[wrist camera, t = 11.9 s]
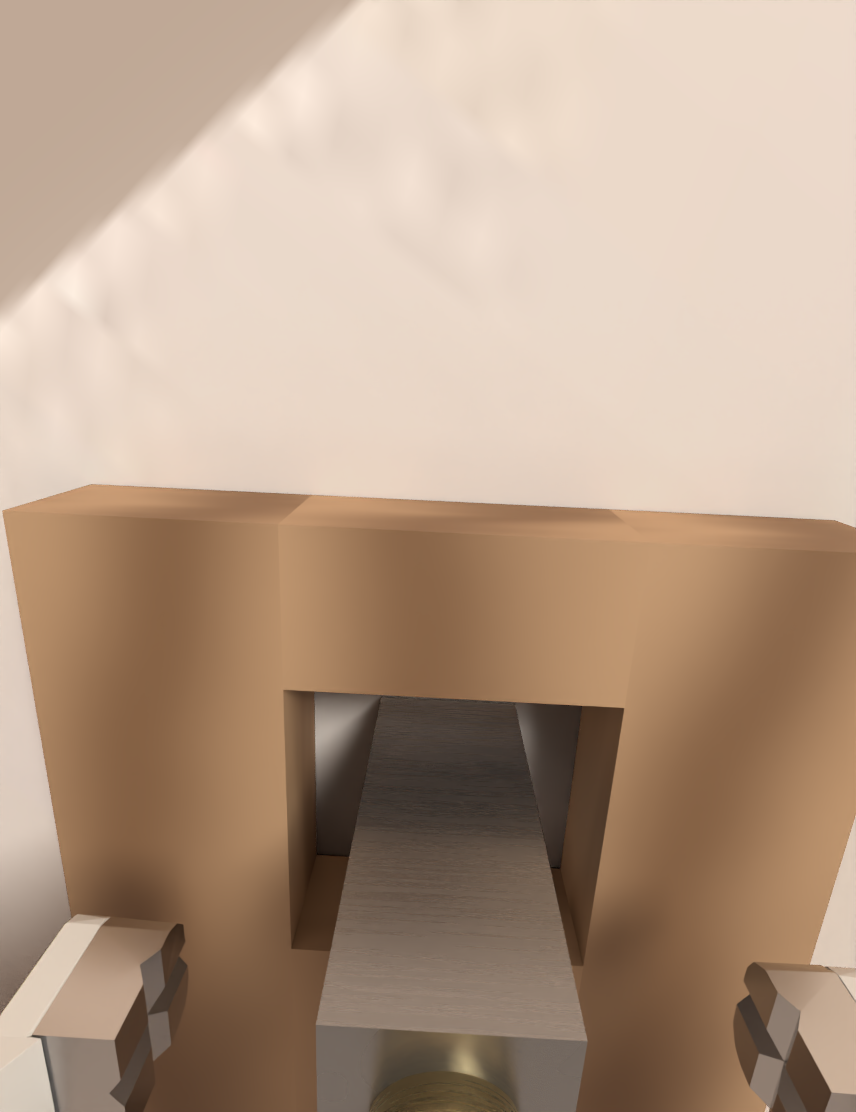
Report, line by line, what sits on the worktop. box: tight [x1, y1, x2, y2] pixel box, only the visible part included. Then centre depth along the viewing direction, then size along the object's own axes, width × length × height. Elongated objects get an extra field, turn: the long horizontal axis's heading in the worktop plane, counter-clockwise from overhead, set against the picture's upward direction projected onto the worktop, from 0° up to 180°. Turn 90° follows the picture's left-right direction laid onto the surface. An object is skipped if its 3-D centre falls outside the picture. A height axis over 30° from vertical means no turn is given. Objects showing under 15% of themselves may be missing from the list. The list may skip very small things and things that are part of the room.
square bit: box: [316, 697, 588, 1112], centre depth 10 cm, size 3×3×8 cm
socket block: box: [2, 484, 856, 1112], centre depth 13 cm, size 15×18×2 cm
